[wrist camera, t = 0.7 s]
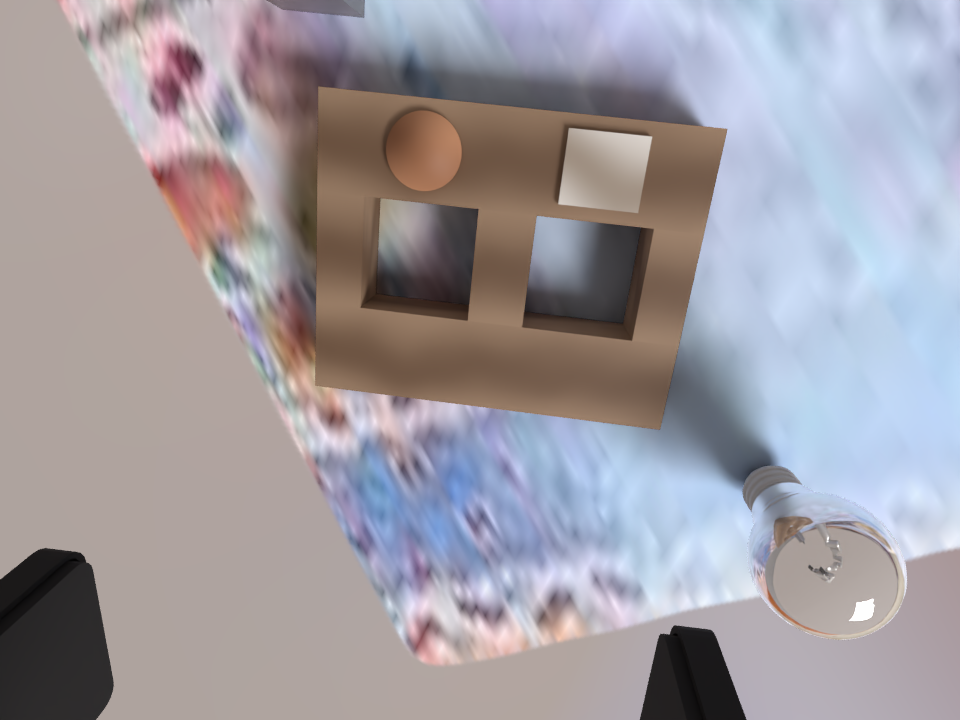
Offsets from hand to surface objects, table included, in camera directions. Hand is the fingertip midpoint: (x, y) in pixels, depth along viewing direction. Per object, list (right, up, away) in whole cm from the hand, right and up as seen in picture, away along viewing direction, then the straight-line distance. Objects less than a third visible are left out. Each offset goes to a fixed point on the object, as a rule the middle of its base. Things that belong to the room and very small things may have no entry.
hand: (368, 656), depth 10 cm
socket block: (+3, +11, +25) cm, 27 cm away
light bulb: (+20, -3, +28) cm, 35 cm away
